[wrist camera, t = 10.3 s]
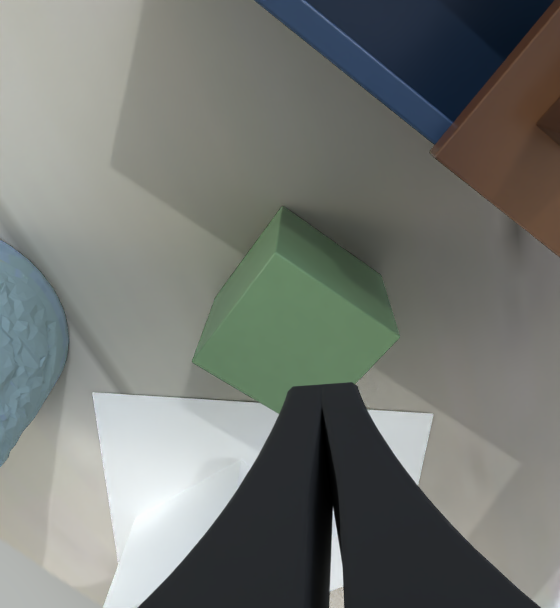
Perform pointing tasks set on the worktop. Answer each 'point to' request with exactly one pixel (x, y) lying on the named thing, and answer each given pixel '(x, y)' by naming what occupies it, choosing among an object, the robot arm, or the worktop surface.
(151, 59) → the worktop surface
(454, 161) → the tin lid
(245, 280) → the block
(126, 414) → the twin cubes on base
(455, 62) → the tin
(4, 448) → the teal plant pot
